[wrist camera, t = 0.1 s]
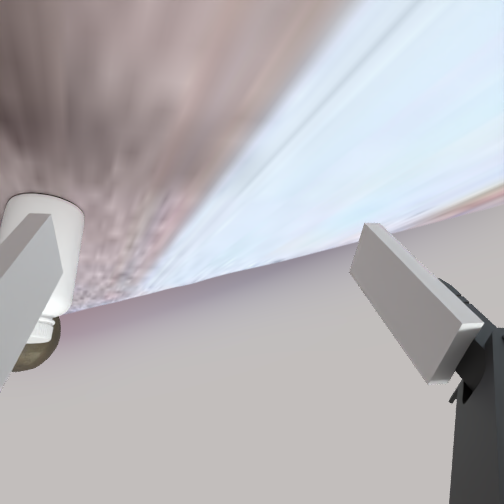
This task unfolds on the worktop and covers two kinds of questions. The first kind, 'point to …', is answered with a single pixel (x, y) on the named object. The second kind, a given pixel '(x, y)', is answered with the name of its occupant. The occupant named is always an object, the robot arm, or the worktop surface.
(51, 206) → the pill bottle
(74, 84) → the worktop surface
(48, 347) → the cantaloupe
